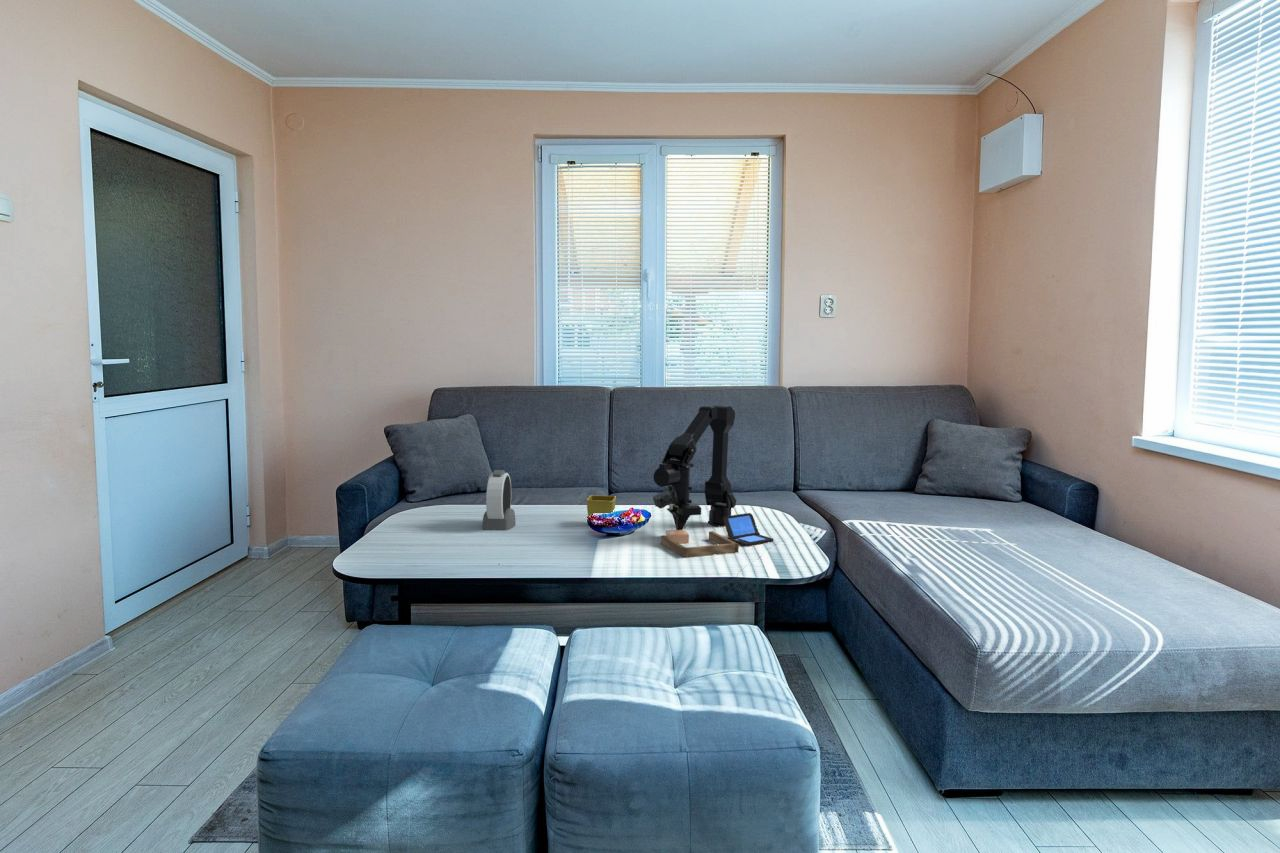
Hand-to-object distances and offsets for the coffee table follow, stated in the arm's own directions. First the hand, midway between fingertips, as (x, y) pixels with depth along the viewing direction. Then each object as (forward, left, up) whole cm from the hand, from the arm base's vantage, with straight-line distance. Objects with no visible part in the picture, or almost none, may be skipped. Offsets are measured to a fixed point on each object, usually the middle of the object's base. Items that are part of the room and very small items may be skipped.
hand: (679, 532), depth 242 cm
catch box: (0, +13, -2) cm, 13 cm away
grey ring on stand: (+49, -33, -2) cm, 59 cm away
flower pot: (+17, -24, -2) cm, 30 cm away
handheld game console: (-19, +10, -2) cm, 21 cm away
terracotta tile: (+2, +4, -2) cm, 5 cm away
